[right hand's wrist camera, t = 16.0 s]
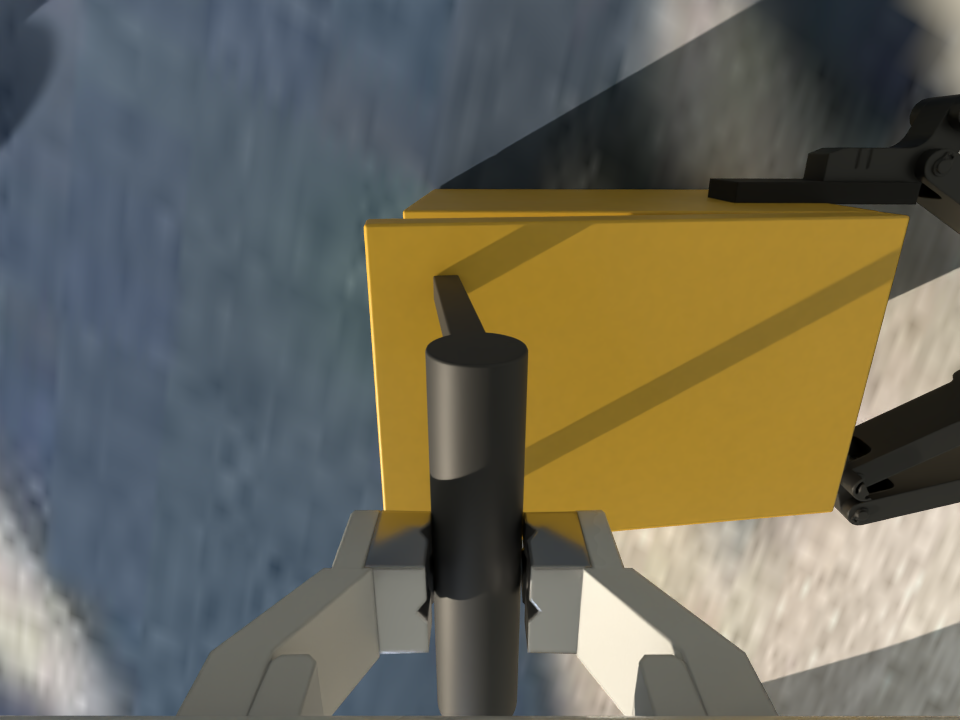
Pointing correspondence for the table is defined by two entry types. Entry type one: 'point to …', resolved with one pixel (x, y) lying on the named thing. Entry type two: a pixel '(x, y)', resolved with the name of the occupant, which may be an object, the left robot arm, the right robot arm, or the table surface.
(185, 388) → the table surface
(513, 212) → the chest
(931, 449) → the left robot arm
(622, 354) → the lid
